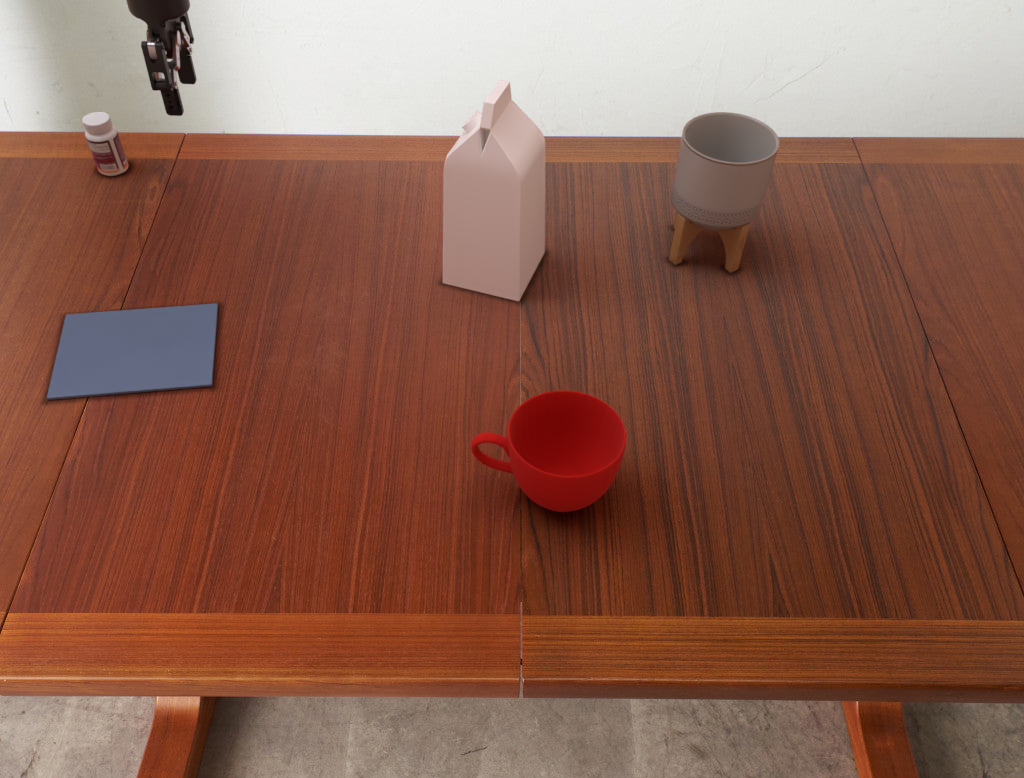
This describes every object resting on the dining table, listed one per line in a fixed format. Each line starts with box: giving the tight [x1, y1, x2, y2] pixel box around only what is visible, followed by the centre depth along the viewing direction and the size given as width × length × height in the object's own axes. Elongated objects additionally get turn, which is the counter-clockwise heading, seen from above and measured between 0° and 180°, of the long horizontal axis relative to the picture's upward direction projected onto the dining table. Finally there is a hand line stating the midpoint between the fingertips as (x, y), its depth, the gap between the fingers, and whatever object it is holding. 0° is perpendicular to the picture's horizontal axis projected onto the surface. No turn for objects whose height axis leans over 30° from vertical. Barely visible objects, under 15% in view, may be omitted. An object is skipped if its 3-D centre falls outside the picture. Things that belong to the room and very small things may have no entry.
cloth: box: [46, 302, 219, 401], centre depth 118 cm, size 20×16×1 cm
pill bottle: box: [82, 111, 129, 177], centre depth 140 cm, size 5×5×8 cm
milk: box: [442, 79, 547, 302], centre depth 120 cm, size 12×12×26 cm
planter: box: [668, 111, 780, 274], centre depth 128 cm, size 13×13×18 cm
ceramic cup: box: [470, 389, 627, 513], centre depth 101 cm, size 13×17×10 cm
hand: (182, 98), depth 123 cm, fingers open, 8 cm apart
